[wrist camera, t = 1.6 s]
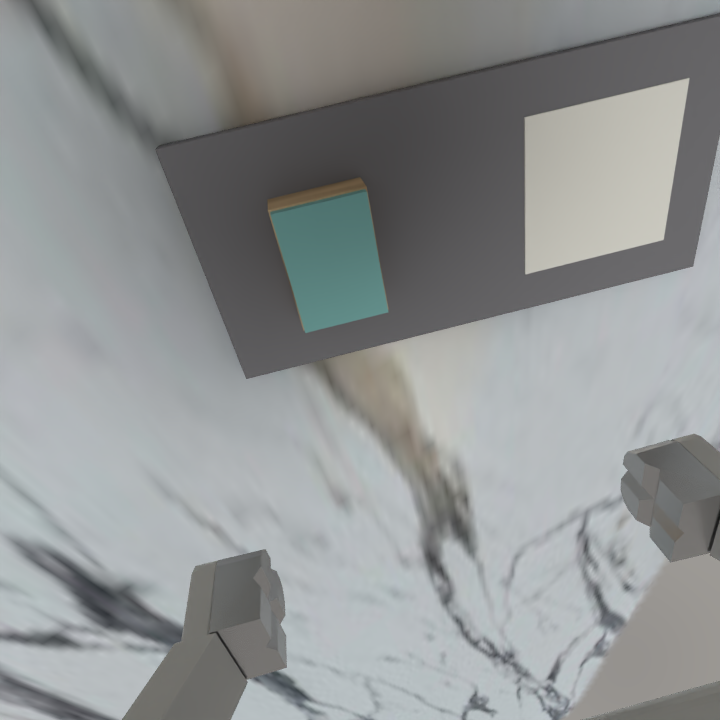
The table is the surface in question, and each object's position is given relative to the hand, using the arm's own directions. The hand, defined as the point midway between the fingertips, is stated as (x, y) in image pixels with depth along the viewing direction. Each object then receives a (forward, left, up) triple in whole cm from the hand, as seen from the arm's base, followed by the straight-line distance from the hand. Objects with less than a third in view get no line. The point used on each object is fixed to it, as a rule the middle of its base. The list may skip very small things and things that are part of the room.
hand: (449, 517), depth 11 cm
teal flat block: (+1, -1, -20) cm, 20 cm away
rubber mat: (+1, +7, -21) cm, 22 cm away
